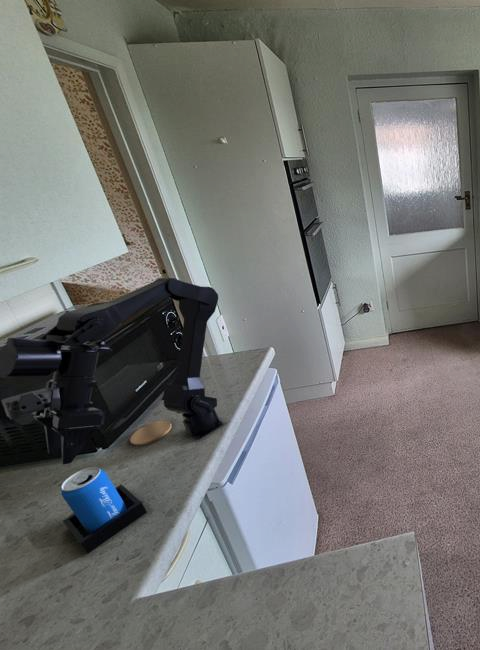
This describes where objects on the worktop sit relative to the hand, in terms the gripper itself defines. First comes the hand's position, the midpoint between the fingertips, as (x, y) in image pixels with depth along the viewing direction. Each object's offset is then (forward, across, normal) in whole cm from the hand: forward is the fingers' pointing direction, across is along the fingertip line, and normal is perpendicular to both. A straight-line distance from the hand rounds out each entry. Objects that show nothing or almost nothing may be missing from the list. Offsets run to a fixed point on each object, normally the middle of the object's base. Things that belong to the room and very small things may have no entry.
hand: (59, 458), depth 72 cm
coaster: (+2, -21, +22) cm, 31 cm away
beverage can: (+14, +2, +9) cm, 17 cm away
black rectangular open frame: (+14, +2, +9) cm, 16 cm away
